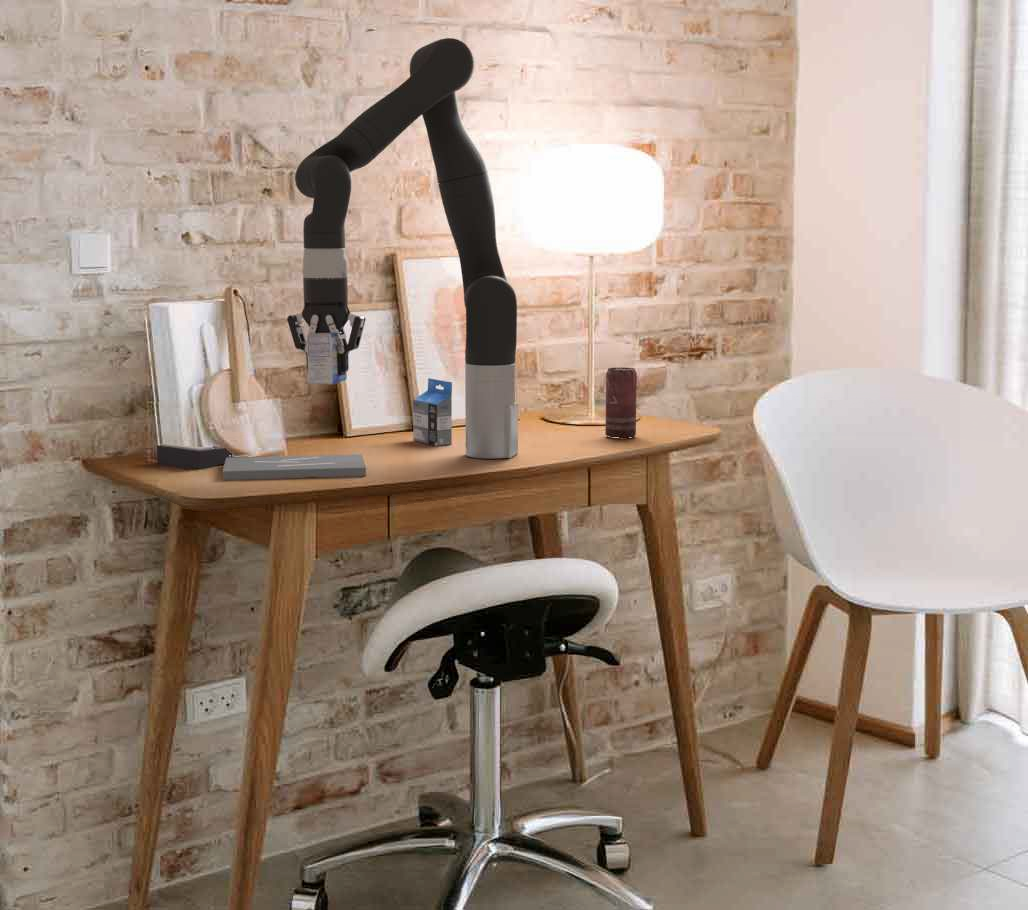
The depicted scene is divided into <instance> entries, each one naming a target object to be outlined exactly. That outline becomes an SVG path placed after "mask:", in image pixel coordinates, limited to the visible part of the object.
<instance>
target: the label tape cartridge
mask: <svg viewBox="0 0 1028 910" xmlns="http://www.w3.org/2000/svg"><path fill="white" fill-rule="evenodd" d="M439 386H440V387H442V388H443V389H440V388H437V387H439ZM452 390H453V382H452V381H446V380H442V379H441V380H439V379H436V378H429V377H428V379H427V390H426V391H424V392H423V393H422V394H420V395H418V396H417V397H415V398H414V399H412V411H413V412H412V418H413V419H412V420H413V421H412V425H413V427H412V429H413V431H412V433H413V438H412V439H413V441H414V442H419V443H423V444H428V445H432V446H436V447H445V446H451V445H452V444H453V442H452V440H453V439H452V437H453V435H452V433H453V432H452V427H453V426H452V423H453V422H452V421H453V417H452V414H453V413H452V410H453V409H452V404H453V402H452V399H453V397H452V395H453V391H452Z"/></svg>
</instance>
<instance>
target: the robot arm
mask: <svg viewBox="0 0 1028 910" xmlns="http://www.w3.org/2000/svg"><path fill="white" fill-rule="evenodd" d="M474 70H475V58H474V55H473V52H472V51H471V48H470V47H469V46H468V45H467V44H466V43H464V42H463V41H462V40H459V39H457V38H451V37H446V38H440V39H438V40H434V41H433V42H431V43H428V44H426V45H424V46H422V47H420V48H419V49H417V50H416V51H415V52H414V53H413V54H412V57H411V59H410V62H409V77H408V78H407V79H406V80H404V82H403V83H401V84H400V85H399V86H398V87H396V88H395V89H394V90H392V91H391V92H390V93H388V94H387V95H385V96H384V97H382V98H380V99H379V100H378V101H377V102H375V103H373V104H372V105H371V106H369V107H368V108H367V109H366V110H364V111H363V112H362V113H361V114H359V115H358V116H357V117H356V118H355V119H354V120H353V121H352V122H350V123H349V124H348V125H347V126H346V127H345V128H343V130H342V131H341V132H340V133H339V134H338V135H337V136H336V137H334V138H332V139H330V140H329V141H327V142H326V143H325V144H323V145H321V146H320V147H318V148H317V149H315V150H314V151H312V152H311V153H310V154H308V155H307V156H306V157H304V159H303V160H302V161H301V162H300V163H299V164H298V167H297V169H296V171H295V175H294V181H295V185H296V188H297V190H298V191H299V192H300V193H301V194H302V195H303V196H305V197H306V198H309V199H313V204H312V210H311V213H309V214H307V215H306V216H305V217H304V220H303V256H302V272H301V273H302V285H303V288H302V289H303V290H302V291H303V309H302V311H301V313H297V314H290V315H288V316H287V318H286V320H287V324H288V327H289V331H290V334H291V336H292V340H293V344H294V348H295V349H297V350H301V351H303V352H305V357H306V358H305V359H306V360H305V362H306V371H307V372H308V355H307V339H306V336H305V332H304V330H303V325H304V321H305V323H306V324H307V325H308V327H309V329H308V332H307V335H309V334H314V333H335V340H336V344H337V350H338V352H339V354H337V371H338V375H345V374H346V372H347V373H348V371H349V369H350V368H349V367H350V366H349V365H350V364H349V354H350V352H351V351H354V350H357V349H359V347H360V342H361V340H362V335H363V331H364V327H365V324H366V323H365V322H366V317H365V316H364V315H357V314H354V313H351V311H350V308H349V306H348V304H349V303H348V301H349V300H348V298H349V296H348V294H349V292H348V261H347V260H348V259H347V253H346V231H345V228H346V227H345V223H346V218H347V214H348V210H349V204H350V200H351V193H352V176H351V173H352V172H354V171H356V170H358V169H359V170H360V169H361V168H364V167H365V166H368V165H369V164H370V163H371V162H372V161H373V160H375V159H376V158H377V157H378V156H379V155H380V154H381V153H382V152H383V151H384V150H385V149H386V148H388V146H390V145H391V144H392V143H393V142H394V141H395V140H396V139H397V138H398V137H399V136H400V135H401V134H403V132H404V131H406V129H408V127H410V125H412V124H413V123H414V122H415V121H417V119H419V117H421V116H422V118H423V122H424V125H425V128H426V133H427V137H428V143H429V147H430V150H431V151H430V152H431V155H432V156H431V157H432V160H433V164H434V169H435V172H436V179H437V185H438V190H439V194H440V197H441V203H442V206H443V210H444V214H445V216H446V220H447V221H446V222H447V223H448V226H449V227H448V228H449V230H450V233H451V236H452V238H453V241H454V244H455V247H456V249H457V253H458V258H459V263H460V271H461V279H462V287H463V288H462V289H463V301H464V308H465V348H464V349H465V351H464V353H465V354H464V357H465V358H464V361H465V362H464V363H465V364H464V365H465V367H464V368H465V370H464V371H465V374H464V375H465V379H464V380H465V382H464V383H465V389H464V390H465V394H464V395H465V396H464V397H465V400H464V401H465V403H464V404H465V455H466V456H467V457H469V458H475V459H511V458H513V457H514V456H515V455H517V454H519V404H518V402H516V354H517V353H516V351H517V343H518V342H517V340H518V339H517V337H518V336H517V335H518V334H517V333H518V332H517V331H518V330H517V329H518V327H517V325H518V323H517V322H518V303H517V302H518V300H517V295H516V292H515V290H514V289H515V288H513V286H512V284H510V283H509V282H508V279H507V277H506V274H505V270H504V267H503V263H502V261H501V257H500V256H501V255H500V253H499V250H498V243H497V235H496V233H497V232H496V228H497V227H496V214H495V203H494V197H493V196H494V195H493V191H492V186H491V182H490V176H489V173H488V172H489V171H488V168H487V164H486V161H485V159H484V158H483V155H482V153H481V151H480V150H479V148H478V146H477V144H475V142H474V140H473V139H472V137H471V136H470V134H469V133H468V131H467V129H466V128H465V125H464V124H463V121H462V118H461V115H460V114H461V113H460V109H459V106H458V101H457V100H458V99H457V93H456V92H457V91H460V90H461V89H462V88H464V87H465V86H466V85H467V84H468V83H469V82H470V80H471V78H472V77H473V74H474ZM348 321H349V326H350V327H351V330H350V335H349V338H348V341H347V334H345V333H346V331H345V328H344V327H345V326H346V324H347V323H348ZM339 332H340V334H339Z"/></svg>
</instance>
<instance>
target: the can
mask: <svg viewBox="0 0 1028 910" xmlns="http://www.w3.org/2000/svg"><path fill="white" fill-rule="evenodd" d="M637 380H638V374H637V371H636V369H635V368H633V367H609V368H607V371H606V373H605V436H606V435H607V436H610V437H619V438H629V437H634V436H635V437H636V435H637V388H638V387H637V383H638V382H637ZM607 436H606V437H607ZM635 437H634V438H635Z"/></svg>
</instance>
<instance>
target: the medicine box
mask: <svg viewBox="0 0 1028 910" xmlns="http://www.w3.org/2000/svg"><path fill="white" fill-rule="evenodd" d="M339 334H340V332H339ZM345 334H346V332H345ZM346 335H347V334H346ZM306 342H307V355H308V371H307V373H308V374H307V375H308V380H307V381H308V384H309V385H331V386H332V385H336V384H337V383H340V382H343V381H346V380H347V378H348V377H347V376H348V375H347V373H348V371H347V372H346V374H345V375H338V371H337V354H339V352H338V350H337V344H336V340H335V333H314V334H309V335H308V334H307V336H306Z"/></svg>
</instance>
